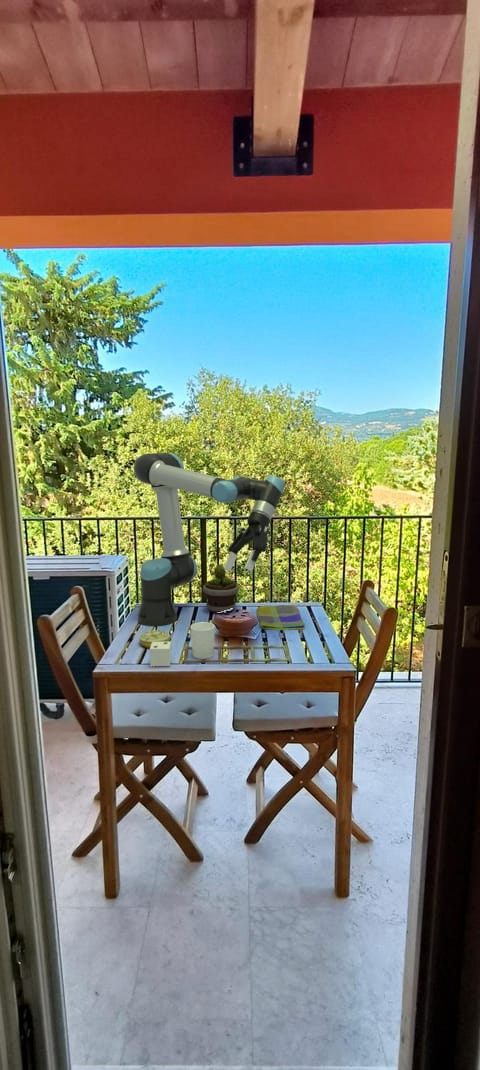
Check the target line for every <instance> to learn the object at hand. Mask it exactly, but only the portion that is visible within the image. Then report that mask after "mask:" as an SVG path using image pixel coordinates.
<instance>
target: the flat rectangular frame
mask: <svg viewBox="0 0 480 1070" xmlns="http://www.w3.org/2000/svg"><path fill="white" fill-rule="evenodd" d="M237 649H238V650H244V649H247V650H248V649H249V650H250V651H251V658H227V659H226V658H222V650H237ZM257 649H258V650H259V649H261V650H263V649H283V651H284V654H285V657H286V658H285V657H282V658H277V657H276V658H257V657H256V652H255V650H257ZM190 650H192V646H185V650H184V654H183V655H184V656H183V660H182V661H183V663H184V664H194V663H196V664H197V663H198V664H199V663H200V664H201V663H203V664H205V663H210V664H211V663H262V662H263V663H264V662H265V663H266V662H268V663H271V662H272V663H275V662H276V663H277V662H279V663H281V662H291V656H290V654H289V651H288V648H287V645H286V644H285V645H284V644H283V645H236V646H235V645H226V646H225V645H222V646H221V645H218V646H215V645H214V650H217V651H218V652H217V655H218V656H217V658H218V659H213V658H212V659H210V658H207V659H188V656H189V651H190Z"/></svg>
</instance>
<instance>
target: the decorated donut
mask: <svg viewBox="0 0 480 1070" xmlns="http://www.w3.org/2000/svg"><path fill="white" fill-rule="evenodd" d="M138 638H139V639H138V640H139V643H140V645H141V646H142V647H143V648H148V649H150V647H151V644H152V642H170V640H171V635H170V633H168V632H166V631H163V630H159V629H158V630H155V629H154V630H147V631H145V632H143V633H142V634H140V635H139V637H138Z"/></svg>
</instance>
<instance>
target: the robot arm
mask: <svg viewBox="0 0 480 1070" xmlns="http://www.w3.org/2000/svg"><path fill="white" fill-rule="evenodd" d="M182 461H183V460H182V459H181V458H180V457H179V456H178V455H177V454H174V453H171V452H159V453H158V452H156V453H144V454H142V455H140V456H139V457H138V458H137V459H136V460H135V462H134V465H133V473H134V476H135V477H136V478H137V480H138V481H140V482H141V483H143V484H145V485H150V487H151V489H152V490H153V491H154V492H155V495H156V501H157V510H158V515H159V523H160V530H161V538H162V545H163V546H162V547H163V552H162V554H161V555H160V558H159V557H157V558H156V557H155V558H151V559H148V560H146V561H144V562H143V563H142V564H141V565H140V572H139V573H140V589H141V603H140V606H139V609H138V613H137V622H138V623H140V624H141V625H144V626H150V627H151V626H152V627H157V626H166V625H169V624H168V623H170V624H172V622H173V623H174V622H176V621H177V619H178V614H177V610H176V608H175V605H174V601H173V593H172V591H173V589H176V588H179V587H181V586H185V585H187V584H189V583H190V582H192V581H193V580H194V579H195V578H196V575H197V571H198V565H197V562H196V560H195V559H194V557H192V556H191V553H190V551H189V549H187V548H186V546H185V537H184V530H183V521H182V515H181V509H180V508H181V507H180V500H179V493H178V490H181V491H185V492H188V493H192V494H195V495H200V496H205V497H207V498H210V499H214V500H215V501H216V502H218V503H219V504H229V503H233V502H236V501H241V500H252V501H255V502H254V505H253V506H252V509H251V512H250V514H249V516H248V517H247V519H246V521H247V524H248V526H247V528H245V527H242V528H241V530H240V532H239V534H238V535H237V536H236V537H235V539H234V540H233V541H232V543H231V544H230V546H229V547H228V549H227V551H228V552H229V554H228V557H227V559H226V561H225V563H224V565H223V567H224V569H226V572H229V573H230V572H231V570H232V569H233V566H234V564H235V561H236V559H237V558H238V556H239V555H238V553H239V552H240V551H241V550H242V549H243V548H244V547H245V546H246V544H247V543H250V542H252V543H253V549H252V550H251V552H250V554H249V557H248V559H247V562H246V563H245V566H244V569H246V570H248V571H249V572H253V570H254V568H255V565H256V563H257V561H258V559H259V556H260V555H261V554H262V553H263V552H264V553H265V552H266V550H267V541H268V533H269V531H270V529H269V525H270V523H271V521H270V520H272V517H273V516H274V513H275V511H276V509H277V506H278V504H279V501H280V499H281V497H282V495H283V494H284V493H283V492H284V490H285V487H286V485H285V484H286V483H285V481H284V480H283V479H282V478H280V477H279V476H276V475H272V474H271V475H268V476H266V478H264V480H258V479H254V478H248V477H245V476H239V475H238V476H234V477H233V478H232V479H226V478H222V477H218V476H215V475H209V474H205V473H201V472H197V471H193V470H188V469H187V468H185V469H184V463H183V462H182ZM165 624H166V625H165Z"/></svg>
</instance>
